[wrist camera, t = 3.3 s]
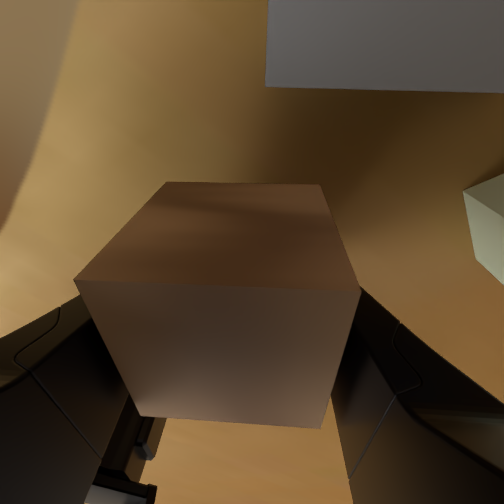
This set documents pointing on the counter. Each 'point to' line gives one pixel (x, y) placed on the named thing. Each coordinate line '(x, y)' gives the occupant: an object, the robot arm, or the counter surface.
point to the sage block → (487, 223)
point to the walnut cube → (226, 303)
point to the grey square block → (386, 45)
